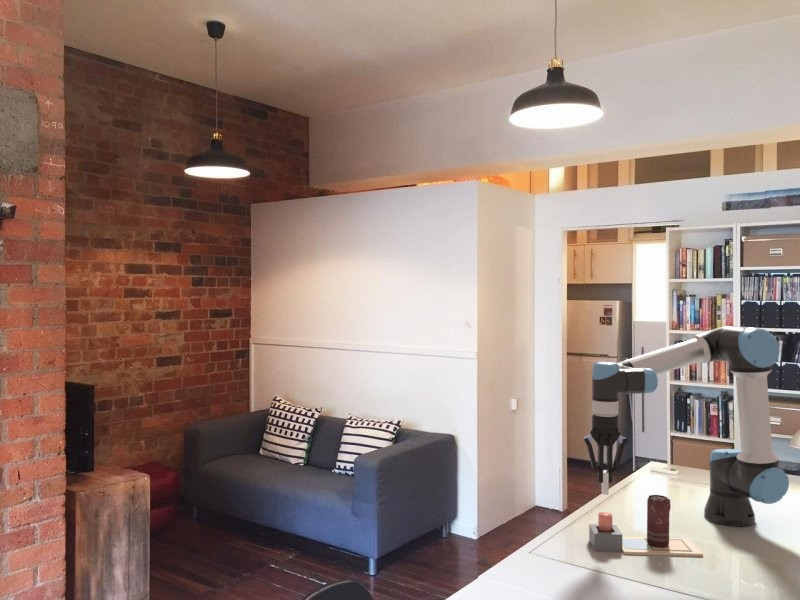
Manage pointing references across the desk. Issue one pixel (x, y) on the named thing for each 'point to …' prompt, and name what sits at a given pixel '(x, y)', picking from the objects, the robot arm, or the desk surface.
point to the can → (658, 521)
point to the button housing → (605, 539)
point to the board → (673, 549)
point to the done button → (605, 521)
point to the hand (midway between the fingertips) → (604, 493)
